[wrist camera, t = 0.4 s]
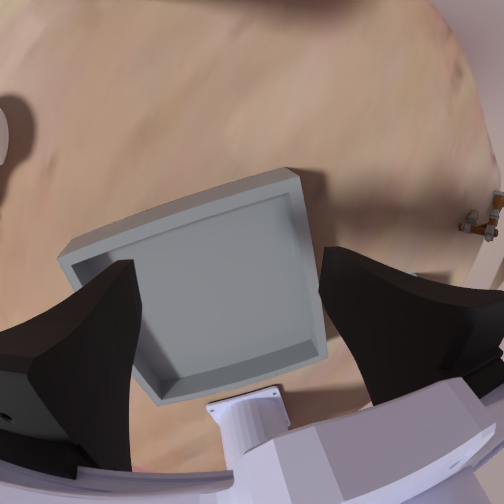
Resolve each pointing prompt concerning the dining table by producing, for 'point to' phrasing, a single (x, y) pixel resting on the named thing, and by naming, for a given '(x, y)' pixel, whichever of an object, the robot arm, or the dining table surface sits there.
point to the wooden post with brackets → (489, 228)
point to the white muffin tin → (3, 137)
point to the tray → (216, 286)
